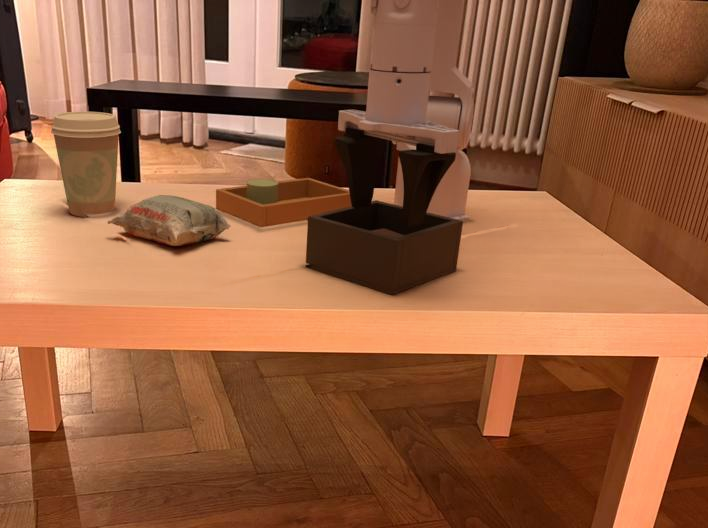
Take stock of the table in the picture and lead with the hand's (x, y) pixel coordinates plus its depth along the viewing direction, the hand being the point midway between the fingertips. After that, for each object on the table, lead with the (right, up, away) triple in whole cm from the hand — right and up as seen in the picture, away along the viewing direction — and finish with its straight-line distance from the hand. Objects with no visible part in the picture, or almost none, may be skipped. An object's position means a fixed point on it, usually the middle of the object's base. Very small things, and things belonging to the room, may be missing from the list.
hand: (386, 215), depth 78 cm
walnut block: (0, -5, +3) cm, 6 cm away
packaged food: (-24, -1, +12) cm, 26 cm away
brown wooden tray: (-10, +6, +25) cm, 28 cm away
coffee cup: (-35, +5, +23) cm, 42 cm away
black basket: (0, -5, +5) cm, 7 cm away
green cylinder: (-13, +5, +23) cm, 27 cm away
